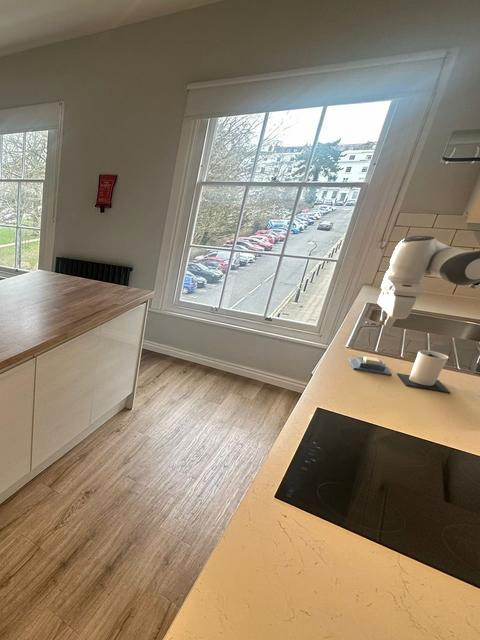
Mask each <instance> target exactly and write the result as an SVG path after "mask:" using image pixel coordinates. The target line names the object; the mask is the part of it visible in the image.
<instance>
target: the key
mask: <svg viewBox="0 0 480 640" xmlns="http://www.w3.org/2000/svg"><path fill="white" fill-rule="evenodd" d="M362 358H363V361H364V362H365V363H370V364H376V365H379V363H380V361H381V360H380V359H379V358H378V357H373V356H366V355H364V356H363V357H362ZM379 360H380V361H379Z"/></svg>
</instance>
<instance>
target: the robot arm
mask: <svg viewBox="0 0 480 640" xmlns="http://www.w3.org/2000/svg"><path fill="white" fill-rule="evenodd" d="M425 276H430V277H434V278H437V279H441V280H444V281H446V282H449V283H452V284H454V285H456V286H457V285H458V286H469V285H474V284H477V283H480V248H479V249H474V250H473V249H472V250H465V249H461V248H457V247H452V246H450V245H448V244H445V243H442V242H441V241H439V240H438V239H437V238H436V237H435V236H431V235H415V236H414V235H413V236H408V237H405V238H403V239H401V241H400V242H398V244H397V245H396V247H395V249H394V251H393V253H392V256H391V258H390V261H389V268H388V270H387V271H386V272H385V274H384V277H383V280H382V282H381V286H380V289H381V291H380V294H379V295H378V299H377V305H378V306H379V307H380V308H381V313H380V314H381V316H380V319H379V321H380V322H382V323H383V325H384V326H385V327H388V328H392V327H393V326H394V323H395V322H396V321H397V320H406V319H407V318H408V317H409V316H410V314H411V311H412V310H413V308H414V306H415V304H416V301H417V298H420V297H421V295H422V293H423V290H422V282H423V280H424V277H425Z"/></svg>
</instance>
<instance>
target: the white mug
mask: <svg viewBox="0 0 480 640" xmlns="http://www.w3.org/2000/svg"><path fill="white" fill-rule="evenodd" d="M448 359H449V356H448V355H447V354H444V353H441V352H438V351H434V350H426V349H425V350H423V349H422V350H419V351H418V352H417V355H416V358H415V361H414V363H413V365H412V369H411V372H410V374H409V375H410V377H409V379H410V380H411V381H413V382H415V383H418V384H422V385H430V386H431V385H434V383H435V382H436V380H438V379H439V376H440V374H441V372H442V370H443V369H444V367H445V366H446V364H447V362H448Z"/></svg>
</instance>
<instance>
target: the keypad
mask: <svg viewBox="0 0 480 640" xmlns="http://www.w3.org/2000/svg"><path fill="white" fill-rule="evenodd" d="M363 358H364V357H361V356H356V358H350V357H348V358H347V361H348V363H349V365H350V367H351V368H352V370H353V371H358V372H362V373H363V372H364V373H370V374H374V375H381V376H386V377H387V376H388V377H393V373H392V372H391V371H390V369H389V367H387V365H386V364H385V363H384V362H382V360H380V359H379V361H380V363H379V365H376V364H370V363H365V362H364V361H363Z"/></svg>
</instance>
